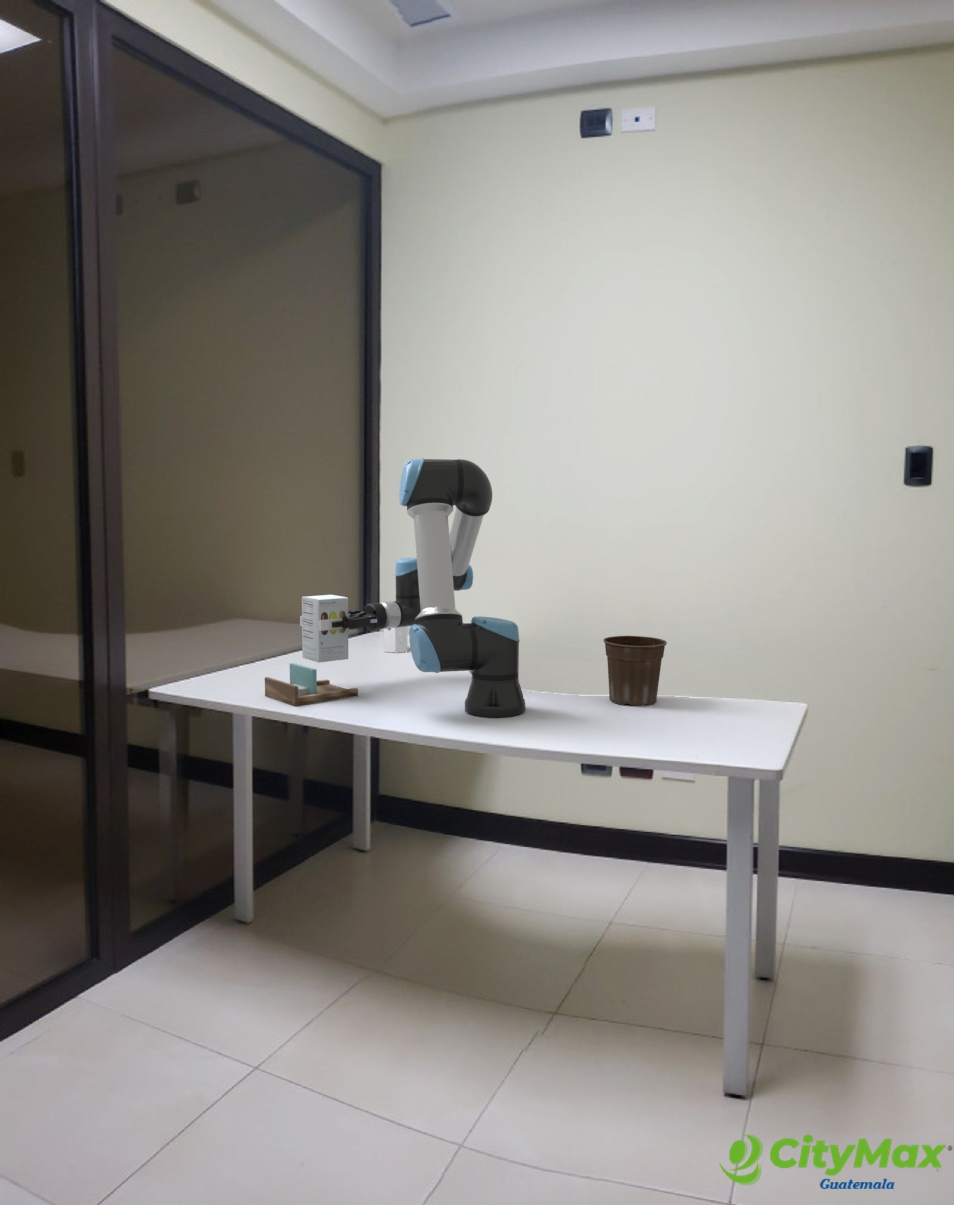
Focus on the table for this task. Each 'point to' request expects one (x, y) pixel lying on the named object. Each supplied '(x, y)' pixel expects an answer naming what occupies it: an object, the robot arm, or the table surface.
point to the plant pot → (634, 668)
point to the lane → (290, 695)
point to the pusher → (303, 679)
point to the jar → (395, 639)
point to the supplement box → (328, 641)
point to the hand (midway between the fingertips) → (310, 623)
